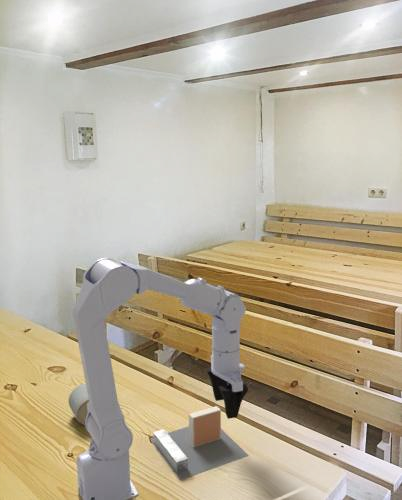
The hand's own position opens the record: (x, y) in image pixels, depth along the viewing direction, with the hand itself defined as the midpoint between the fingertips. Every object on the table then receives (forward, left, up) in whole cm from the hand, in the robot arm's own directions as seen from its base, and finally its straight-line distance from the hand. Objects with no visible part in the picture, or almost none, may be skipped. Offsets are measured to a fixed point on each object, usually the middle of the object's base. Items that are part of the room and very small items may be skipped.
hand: (225, 408), depth 97 cm
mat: (-5, +3, -10) cm, 11 cm away
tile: (-3, +4, -9) cm, 11 cm away
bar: (-12, +3, -9) cm, 15 cm away
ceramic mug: (-22, +27, -10) cm, 36 cm away
